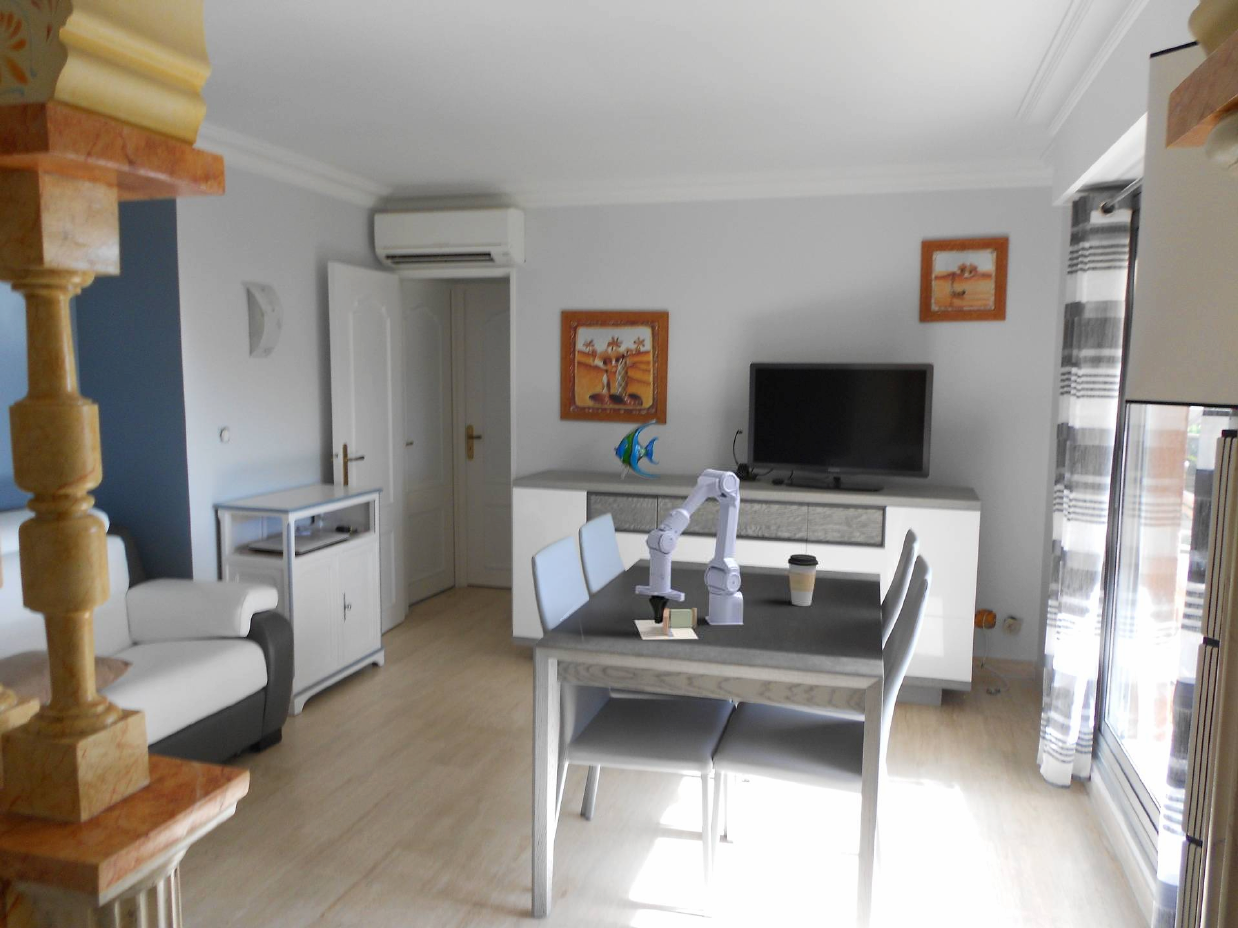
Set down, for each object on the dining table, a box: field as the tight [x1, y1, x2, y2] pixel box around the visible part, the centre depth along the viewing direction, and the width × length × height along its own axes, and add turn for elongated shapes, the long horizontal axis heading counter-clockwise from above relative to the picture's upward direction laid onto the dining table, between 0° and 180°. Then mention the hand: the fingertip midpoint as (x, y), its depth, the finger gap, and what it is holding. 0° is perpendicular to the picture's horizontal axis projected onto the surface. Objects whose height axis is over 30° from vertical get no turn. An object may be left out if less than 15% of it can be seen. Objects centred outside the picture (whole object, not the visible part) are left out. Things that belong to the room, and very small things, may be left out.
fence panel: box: [663, 607, 670, 635], centre depth 242 cm, size 9×2×5 cm, turn 175°
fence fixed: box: [669, 607, 698, 629], centre depth 246 cm, size 7×2×5 cm, turn 96°
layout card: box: [634, 619, 699, 641], centre depth 244 cm, size 15×19×1 cm
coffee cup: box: [787, 553, 819, 607], centre depth 275 cm, size 9×9×15 cm
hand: (658, 622), depth 240 cm, fingers closed, pressing on fence panel
